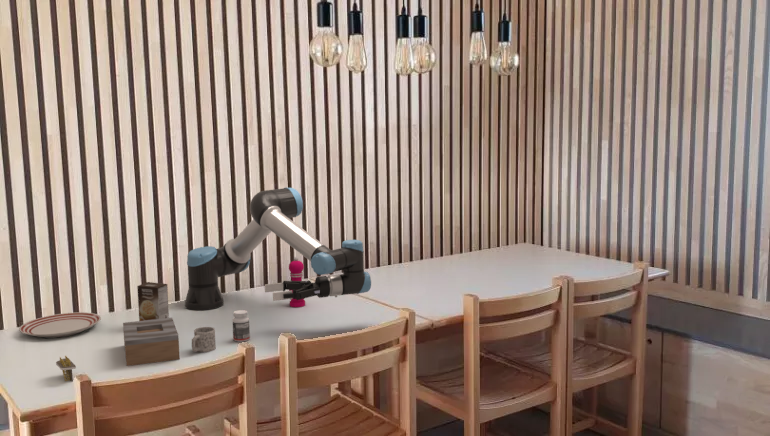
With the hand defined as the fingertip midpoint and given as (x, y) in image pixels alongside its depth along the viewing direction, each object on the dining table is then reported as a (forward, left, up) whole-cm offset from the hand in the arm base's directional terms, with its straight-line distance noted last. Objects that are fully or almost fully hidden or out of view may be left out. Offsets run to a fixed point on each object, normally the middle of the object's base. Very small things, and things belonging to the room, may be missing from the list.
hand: (268, 292), depth 258 cm
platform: (+17, -65, -16) cm, 69 cm away
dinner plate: (-39, -69, -16) cm, 81 cm away
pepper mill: (-37, +19, -16) cm, 45 cm away
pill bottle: (0, -10, -16) cm, 19 cm away
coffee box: (-29, -37, -16) cm, 49 cm away
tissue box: (+1, -40, -16) cm, 43 cm away
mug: (+6, -24, -16) cm, 30 cm away
